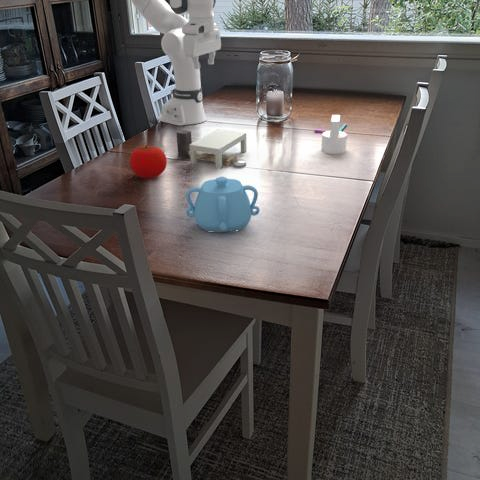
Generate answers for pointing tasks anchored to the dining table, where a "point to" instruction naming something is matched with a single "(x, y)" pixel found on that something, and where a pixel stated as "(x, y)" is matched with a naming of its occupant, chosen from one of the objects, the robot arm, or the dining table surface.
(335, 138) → the cylinder with rectangular tab
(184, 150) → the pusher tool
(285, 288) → the dining table surface
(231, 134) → the low bench
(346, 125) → the squeegee
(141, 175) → the tomato
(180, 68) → the robot arm
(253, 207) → the decorative pot
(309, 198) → the dining table surface
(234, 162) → the steel puck
